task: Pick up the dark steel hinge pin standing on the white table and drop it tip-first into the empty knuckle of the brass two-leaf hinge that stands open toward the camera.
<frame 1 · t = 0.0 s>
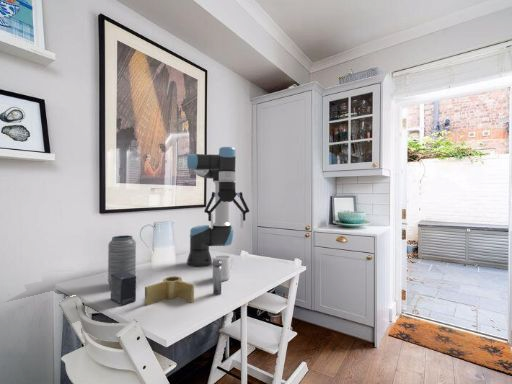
hand: (226, 228, 122), 28 cm above the table, fingers open, 13 cm apart
hinge: (172, 295, 115), on the table
mug: (223, 278, 139), on the table
small box: (123, 300, 110), on the table
pin: (217, 293, 118), on the table
vase: (122, 285, 128), on the table
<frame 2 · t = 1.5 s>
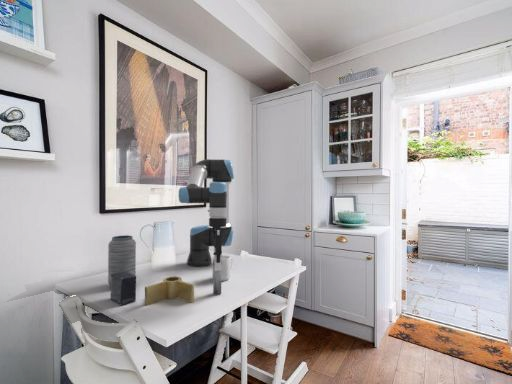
hand: (217, 266, 118), 12 cm above the table, fingers open, 13 cm apart
nothing on the table moved.
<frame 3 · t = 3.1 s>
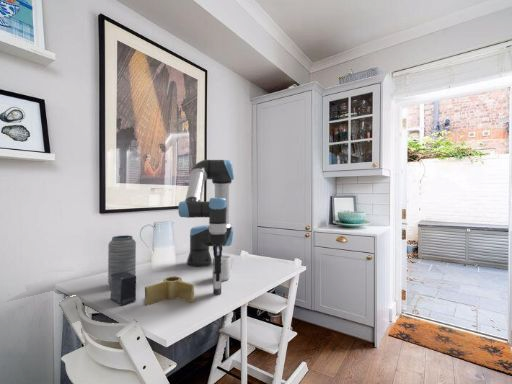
hand: (217, 286, 118), 3 cm above the table, fingers closed on pin, 3 cm apart
pin: (217, 293, 118), on the table, touching gripper
everything else where it was.
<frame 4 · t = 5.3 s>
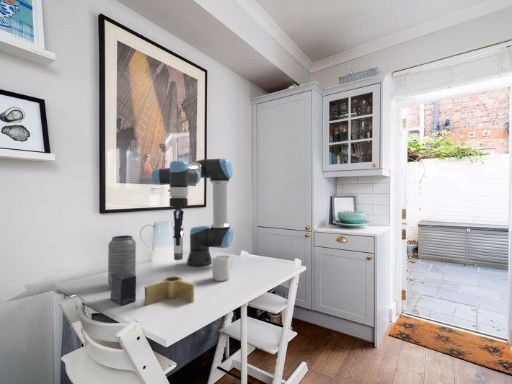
hand: (178, 251, 116), 19 cm above the table, fingers closed on pin, 3 cm apart
pin: (178, 259, 116), point 15 cm above the table, touching gripper
everything else where it was.
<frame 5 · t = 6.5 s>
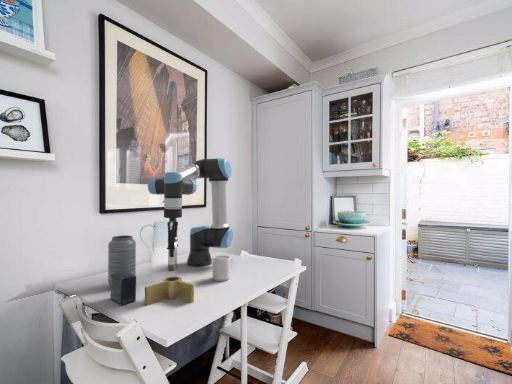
hand: (172, 263, 115), 14 cm above the table, fingers closed on pin, 3 cm apart
pin: (172, 270, 115), point 11 cm above the table, touching gripper
everything else where it was.
when the fingers open (9 cm above the table, at t = 7.6 s): pin drops 5 cm, resting in hinge.
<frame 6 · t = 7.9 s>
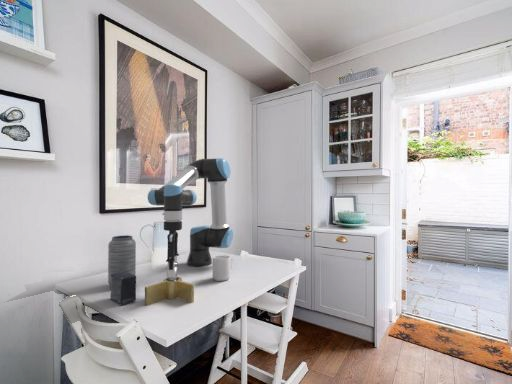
hand: (172, 273, 115), 9 cm above the table, fingers open, 8 cm apart
pin: (172, 295, 115), resting in hinge
everything else where it was.
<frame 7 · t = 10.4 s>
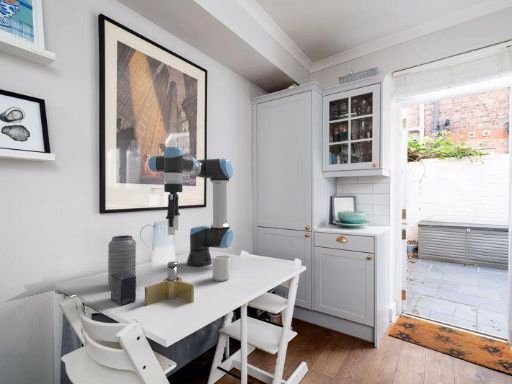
hand: (173, 232, 116), 27 cm above the table, fingers open, 13 cm apart
nothing on the table moved.
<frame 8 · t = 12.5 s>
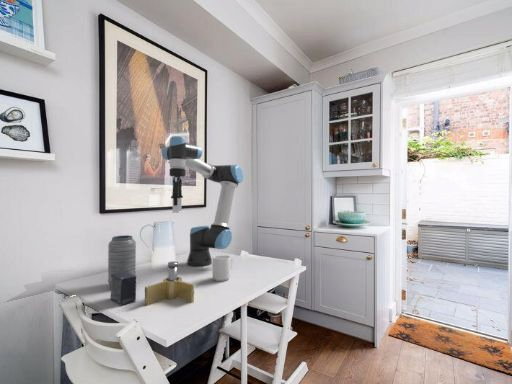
hand: (177, 211, 132), 35 cm above the table, fingers open, 13 cm apart
nothing on the table moved.
at the end: pin 0.0 cm off-centre on the hinge, point 0.0 cm above the hinge's base; pin tilted 0°; the gripper is holding nothing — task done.
